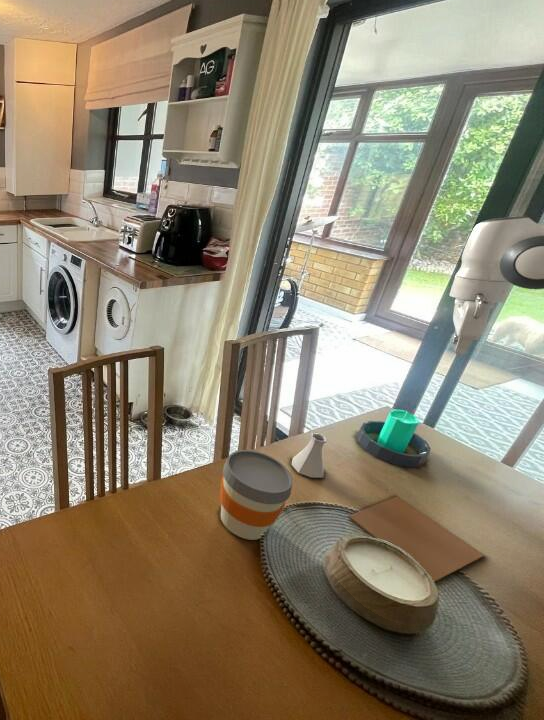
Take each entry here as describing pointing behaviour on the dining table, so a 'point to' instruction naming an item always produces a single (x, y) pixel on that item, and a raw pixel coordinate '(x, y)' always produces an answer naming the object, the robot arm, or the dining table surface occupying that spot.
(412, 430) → the candle
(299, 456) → the flask
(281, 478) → the reusable coffee cup
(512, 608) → the dining table surface
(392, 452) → the ring
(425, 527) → the mat
